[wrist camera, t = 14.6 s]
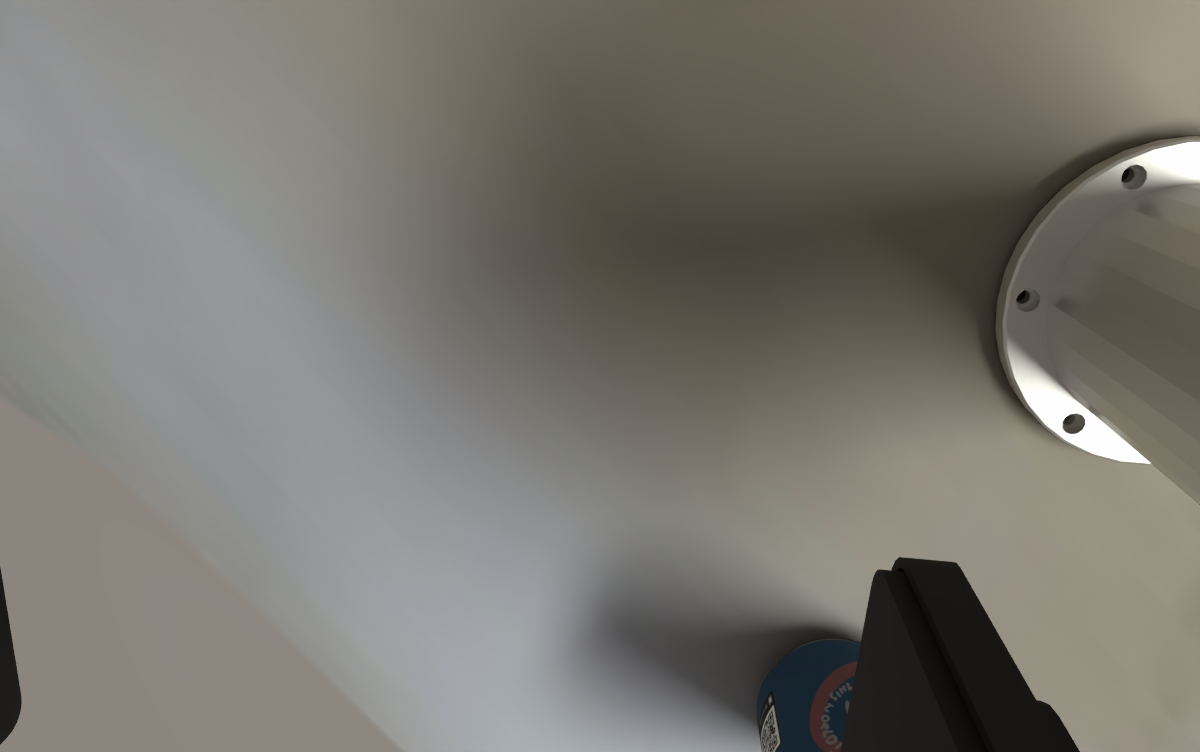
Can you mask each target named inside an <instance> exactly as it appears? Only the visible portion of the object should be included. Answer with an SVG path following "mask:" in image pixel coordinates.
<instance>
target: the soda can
mask: <svg viewBox="0 0 1200 752" xmlns="http://www.w3.org/2000/svg"><path fill="white" fill-rule="evenodd" d="M859 650H860V643H856V642H853V641H849V640H844V639H822V640H816V641H813V642H809V643H806V644H804V645H802V646H800V647H798V648H796V649H794V650H793V651H791V652H790V653H789V654H788V655H786V656H785V657H784V658H783V659H782V660H781V661H780V662H779V663H778V664H777V665H776V666H775V667H774V668H773V670H772V671H771V672H770V673H769V675H768V676H767V678H766V679H765V681H764V683H763V685H762V687H761V690H760V693H759V696H758V701H757V721H758V728H759V735H760V741H761V748H762V752H841V746H842V741H843V736H844V730H845V725H846V720H847V714H848V709H849V703H850V698H851V693H852V687H853V682H854V677H855V671H856V666H857V661H858V655H859Z"/></svg>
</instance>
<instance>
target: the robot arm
mask: <svg viewBox="0 0 1200 752" xmlns="http://www.w3.org/2000/svg"><path fill="white" fill-rule="evenodd" d="M1125 169H1128V170H1129V175H1128V177H1127V178H1126V179H1125V180H1123V181H1121V176H1122V174H1123V172H1124V170H1125ZM1024 290H1025V291H1026V295H1025V297H1024V298H1023V299H1022V300H1020V301H1016V299H1017V297H1018V295H1019V294H1020V293H1021V292H1022V291H1024ZM995 331H996V337H997V344H998V350H999V357H1000V361H1001V363H1002V366H1003V368H1004V371H1005V374H1006V376H1007V379H1008V381H1009V384H1010V386H1011V387H1012V389H1013V390H1014V392H1015V393H1016V395H1017V396H1018V398H1019V399H1020V401H1021V402H1022V404H1023V405H1024V407H1025V408H1026V409H1027V410H1028V411H1029V412H1030V413H1031V414H1032V415H1033V416H1034V417H1035V418H1036V419H1037V420H1038V421H1039V422H1040V423H1041V424H1042V425H1043V426H1044V427H1045V428H1046V429H1048V430H1049V431H1050V432H1051V433H1053V434H1054V435H1055V436H1056V437H1057V438H1059V439H1060V440H1062V441H1063V442H1065V443H1067V444H1069V445H1071V446H1073V447H1075V448H1077V449H1080V450H1082V451H1084V452H1086V453H1088V454H1090V455H1093V456H1097V457H1101V458H1105V459H1108V460H1112V461H1116V462H1121V463H1134V464H1147V465H1153V466H1155V467H1156V468H1157V469H1158V470H1159V471H1161V472H1162V473H1163V474H1164V475H1165V476H1166V477H1168V478H1169V479H1170V480H1171V481H1172V482H1174V483H1175V484H1176V485H1177V486H1178V487H1179V488H1181V489H1182V490H1183V491H1184V492H1185V493H1186V494H1188V495H1189V496H1190V497H1191V498H1192V499H1194V500H1195V501H1196V502H1197V503H1198V504H1199V505H1200V136H1188V137H1180V138H1171V139H1163V140H1157V141H1154V142H1150V143H1147V144H1144V145H1141V146H1137V147H1134V148H1131V149H1128V150H1124V151H1122V152H1120V153H1118V154H1116V155H1114V156H1112V157H1110V158H1108V159H1106V160H1104V161H1102V162H1100V163H1098V164H1096V165H1094V166H1092V167H1091V168H1089V169H1088V170H1087V171H1085V172H1084V173H1083V174H1081V175H1080V176H1078V177H1077V178H1076V179H1074V180H1073V181H1072V182H1070V183H1069V184H1067V185H1066V186H1065V187H1063V188H1062V189H1061V190H1060V191H1059V192H1058V193H1057V194H1056V195H1055V196H1054V197H1053V198H1052V199H1051V200H1050V201H1049V202H1048V203H1047V204H1046V205H1045V206H1044V207H1043V208H1042V209H1041V211H1040V212H1039V213H1038V214H1037V215H1036V217H1035V218H1034V220H1033V221H1032V222H1031V224H1030V225H1029V227H1028V228H1027V230H1026V231H1025V232H1024V234H1023V235H1022V237H1021V238H1020V240H1019V241H1018V243H1017V245H1016V248H1015V250H1014V252H1013V254H1012V256H1011V258H1010V260H1009V263H1008V265H1007V267H1006V269H1005V272H1004V276H1003V280H1002V284H1001V287H1000V291H999V295H998V299H997V311H996V330H995ZM1068 415H1070V417H1069V418H1068V419H1067V420H1064V418H1065V417H1067V416H1068ZM1063 420H1064V421H1063ZM20 709H21V692H20V686H19V680H18V674H17V667H16V661H15V655H14V649H13V643H12V636H11V630H10V624H9V618H8V612H7V606H6V600H5V593H4V587H3V581H2V575H1V569H0V744H1V743H2V742H3V741H4V740H5V739H6V738H7V737H8V735H9V734H10V733H11V732H12V730H13V729H14V727H15V725H16V723H17V720H18V718H19V714H20ZM841 752H1080V751H1079V750H1078V748H1077V746H1076V744H1075V743H1074V741H1073V739H1072V738H1071V736H1070V734H1069V733H1068V731H1067V729H1066V728H1065V726H1064V724H1063V722H1062V721H1061V719H1060V717H1059V716H1058V715H1057V713H1056V712H1055V711H1054V710H1053V708H1052V707H1051V706H1050V705H1049V704H1046V703H1044V702H1042V701H1038V700H1036V699H1035V697H1034V695H1033V694H1032V692H1031V690H1030V688H1029V687H1028V685H1027V683H1026V681H1025V680H1024V678H1023V676H1022V675H1021V673H1020V671H1019V669H1018V668H1017V666H1016V664H1015V662H1014V661H1013V659H1012V657H1011V655H1010V654H1009V652H1008V650H1007V648H1006V647H1005V645H1004V643H1003V641H1002V640H1001V638H1000V636H999V634H998V633H997V631H996V629H995V627H994V626H993V624H992V622H991V620H990V619H989V617H988V615H987V613H986V612H985V610H984V608H983V606H982V605H981V603H980V601H979V599H978V598H977V596H976V594H975V592H974V591H973V589H972V587H971V585H970V584H969V582H968V580H967V578H966V577H965V575H964V573H963V571H962V570H961V568H960V567H959V566H958V564H957V563H954V562H946V561H935V560H924V559H913V558H902V557H899V558H898V559H897V560H896V561H895V563H894V565H893V567H892V571H889V570H877V571H876V573H875V575H874V577H873V581H872V585H871V591H870V596H869V602H868V607H867V612H866V618H865V623H864V628H863V634H862V639H861V644H860V650H859V655H858V661H857V666H856V671H855V677H854V682H853V687H852V693H851V698H850V703H849V709H848V714H847V720H846V725H845V730H844V736H843V741H842V746H841Z"/></svg>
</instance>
